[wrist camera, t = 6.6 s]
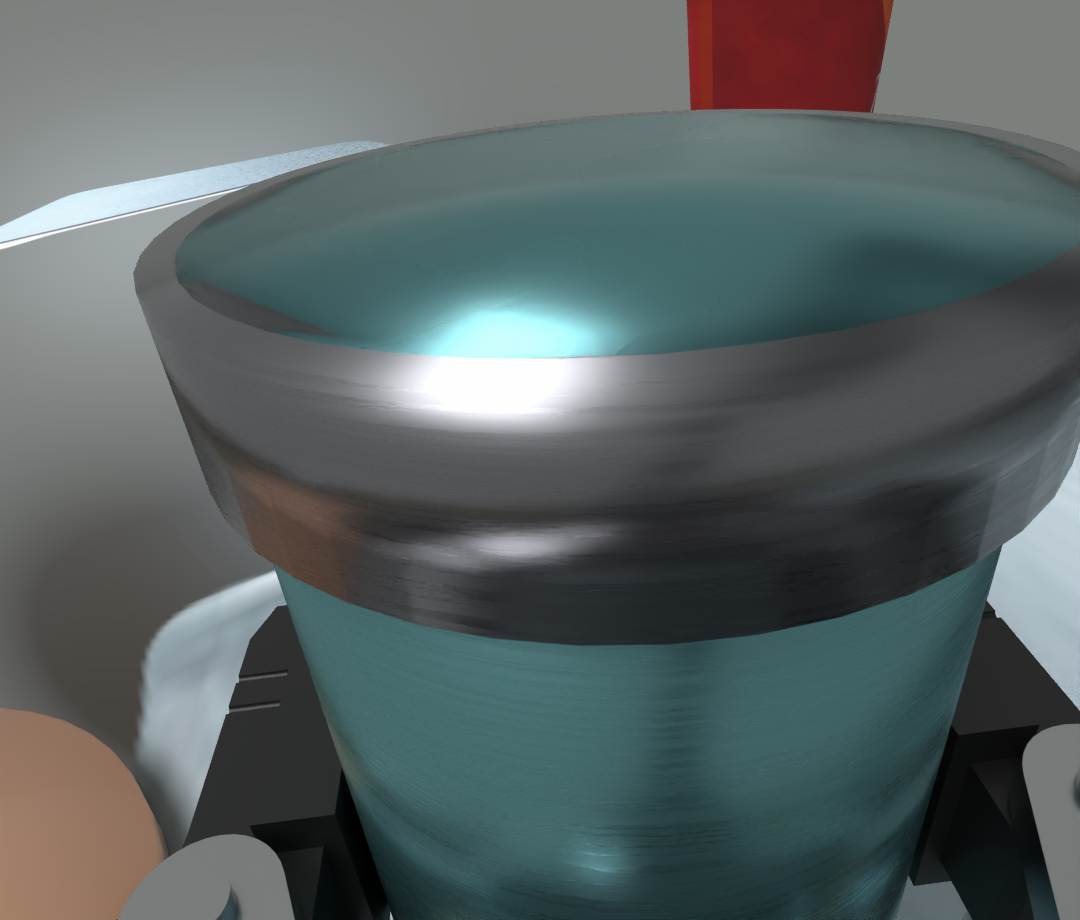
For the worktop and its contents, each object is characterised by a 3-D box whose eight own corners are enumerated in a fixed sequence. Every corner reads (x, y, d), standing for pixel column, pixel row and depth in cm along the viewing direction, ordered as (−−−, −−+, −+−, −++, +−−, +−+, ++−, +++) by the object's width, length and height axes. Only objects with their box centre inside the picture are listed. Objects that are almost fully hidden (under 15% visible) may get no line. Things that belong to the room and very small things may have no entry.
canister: (562, 809, 15) (483, 110, 8) (884, 960, 12) (1128, 106, 6) (363, 1146, 11) (-86, 290, 4) (781, 1483, 8) (1226, 555, 2)
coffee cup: (900, 318, 35) (969, -92, 27) (763, 371, 32) (797, -78, 24) (763, 274, 41) (787, -69, 33) (637, 314, 38) (630, -56, 30)
